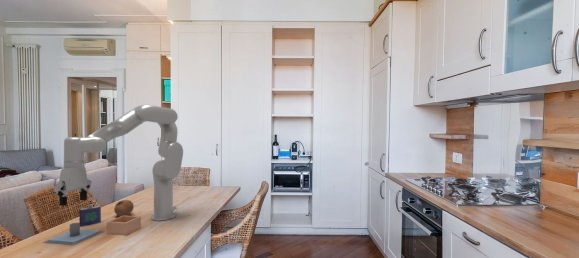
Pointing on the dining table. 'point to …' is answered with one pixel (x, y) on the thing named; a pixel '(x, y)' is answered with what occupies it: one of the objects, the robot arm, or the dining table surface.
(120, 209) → the coconut
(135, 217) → the open cube shelf
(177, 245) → the dining table surface
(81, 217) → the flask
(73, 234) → the lid
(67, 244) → the mat
